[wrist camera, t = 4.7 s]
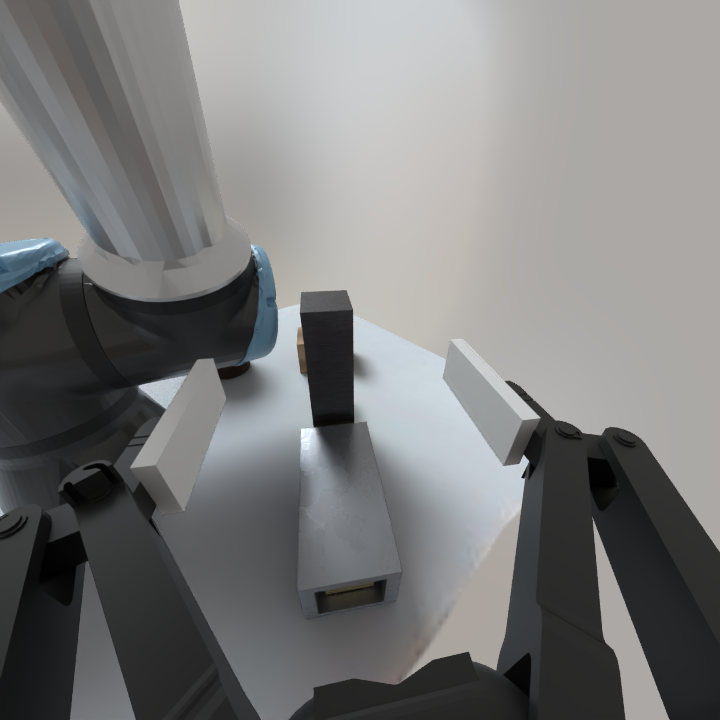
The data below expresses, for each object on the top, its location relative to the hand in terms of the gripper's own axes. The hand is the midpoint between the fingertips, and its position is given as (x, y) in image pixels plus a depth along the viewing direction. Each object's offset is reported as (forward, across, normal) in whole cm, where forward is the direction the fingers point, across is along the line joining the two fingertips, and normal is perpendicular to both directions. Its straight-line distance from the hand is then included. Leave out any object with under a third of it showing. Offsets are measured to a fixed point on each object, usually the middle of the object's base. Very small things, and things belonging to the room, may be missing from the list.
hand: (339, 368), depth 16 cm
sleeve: (+2, 0, -19) cm, 19 cm away
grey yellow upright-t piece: (+8, 0, -18) cm, 19 cm away
